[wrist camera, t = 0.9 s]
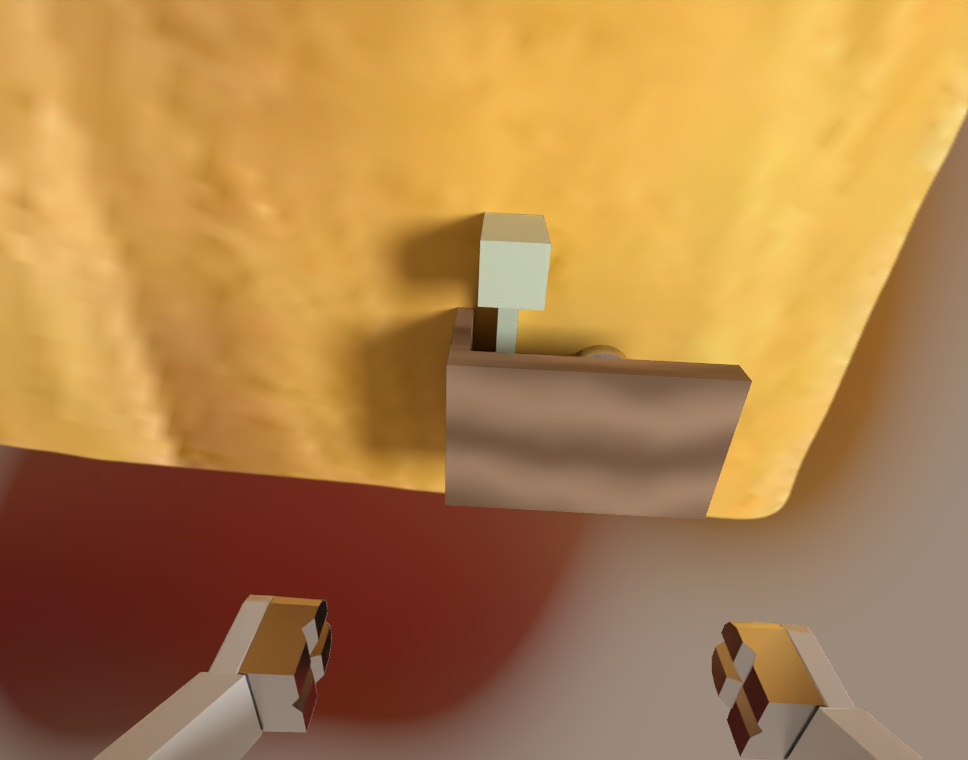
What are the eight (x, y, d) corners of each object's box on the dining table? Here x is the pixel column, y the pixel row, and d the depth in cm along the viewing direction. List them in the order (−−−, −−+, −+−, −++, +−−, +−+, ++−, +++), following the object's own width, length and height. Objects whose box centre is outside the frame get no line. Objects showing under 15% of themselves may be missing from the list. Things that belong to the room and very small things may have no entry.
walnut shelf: (457, 307, 39) (446, 364, 32) (702, 320, 39) (751, 381, 31) (455, 430, 45) (445, 504, 37) (669, 442, 45) (704, 519, 37)
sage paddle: (484, 212, 36) (480, 240, 30) (543, 215, 36) (551, 243, 30) (476, 409, 44) (471, 463, 38) (524, 412, 44) (527, 466, 38)
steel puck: (570, 342, 41) (573, 354, 39) (635, 345, 41) (640, 358, 39) (562, 397, 43) (564, 410, 42) (623, 400, 43) (628, 414, 41)
